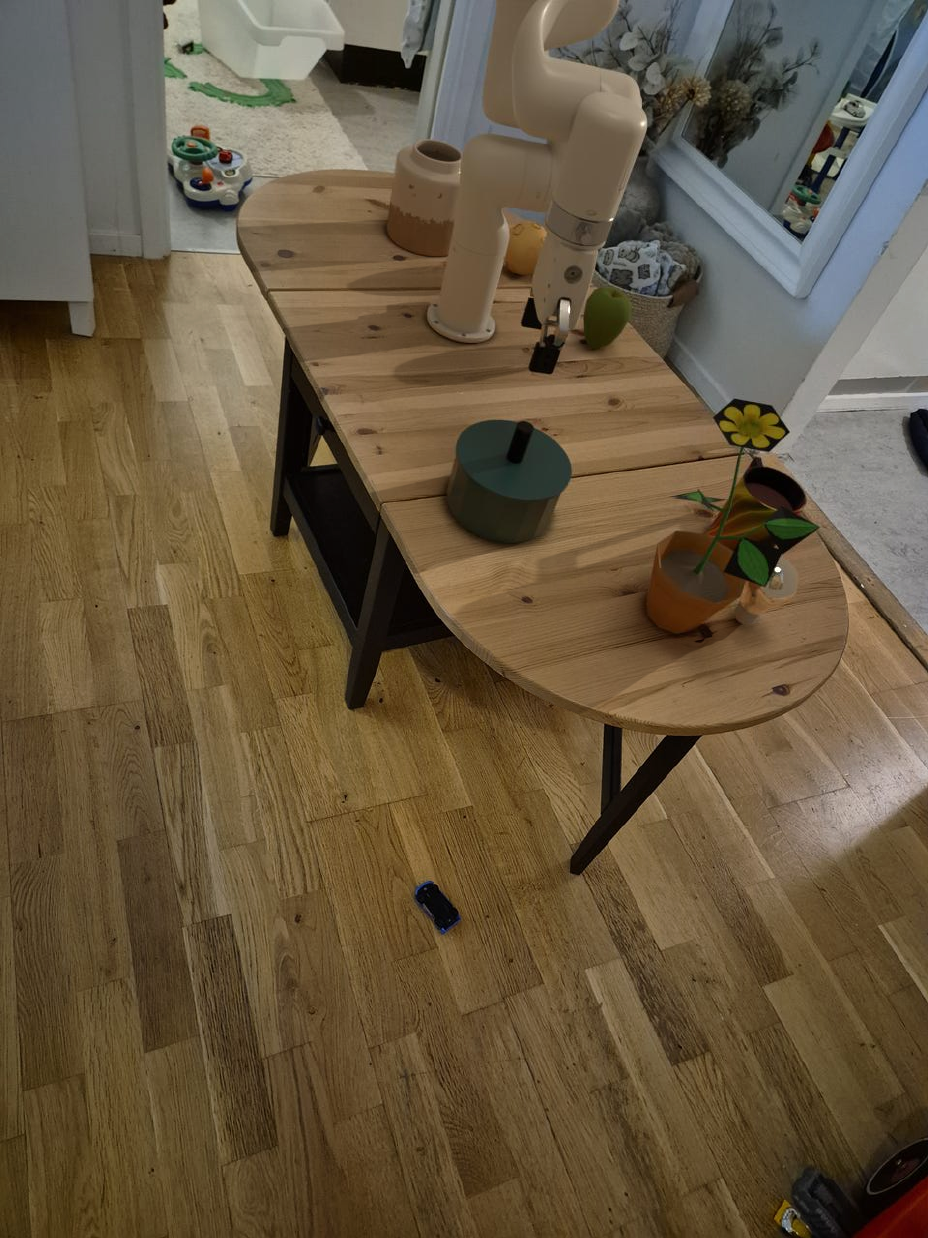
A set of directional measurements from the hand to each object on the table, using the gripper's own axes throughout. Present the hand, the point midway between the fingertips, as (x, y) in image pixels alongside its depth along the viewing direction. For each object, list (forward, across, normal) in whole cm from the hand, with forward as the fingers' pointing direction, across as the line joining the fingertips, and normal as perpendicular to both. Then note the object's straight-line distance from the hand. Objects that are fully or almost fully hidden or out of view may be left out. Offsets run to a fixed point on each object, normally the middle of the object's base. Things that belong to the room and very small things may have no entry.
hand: (535, 348), depth 104 cm
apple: (+23, +40, -23) cm, 52 cm away
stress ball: (+24, +63, -11) cm, 68 cm away
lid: (+14, -7, 0) cm, 15 cm away
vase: (+24, +70, +9) cm, 75 cm away
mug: (+22, -8, -37) cm, 44 cm away
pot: (+22, -7, 0) cm, 23 cm away
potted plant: (+22, -25, -23) cm, 40 cm away
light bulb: (+22, -25, -34) cm, 47 cm away
